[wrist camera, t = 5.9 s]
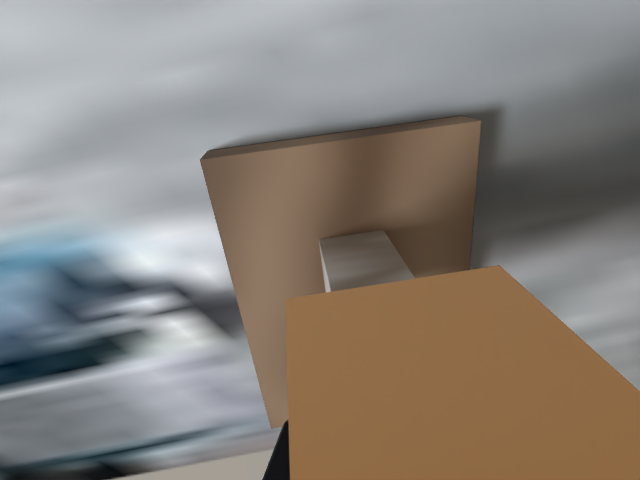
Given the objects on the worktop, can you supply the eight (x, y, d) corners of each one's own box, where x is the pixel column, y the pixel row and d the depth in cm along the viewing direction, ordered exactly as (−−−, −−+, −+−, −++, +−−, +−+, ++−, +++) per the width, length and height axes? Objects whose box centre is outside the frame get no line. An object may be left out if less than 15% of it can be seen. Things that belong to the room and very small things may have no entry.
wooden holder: (461, 115, 14) (628, 158, 7) (447, 373, 20) (531, 525, 14) (207, 150, 14) (139, 230, 7) (271, 404, 20) (268, 576, 13)
